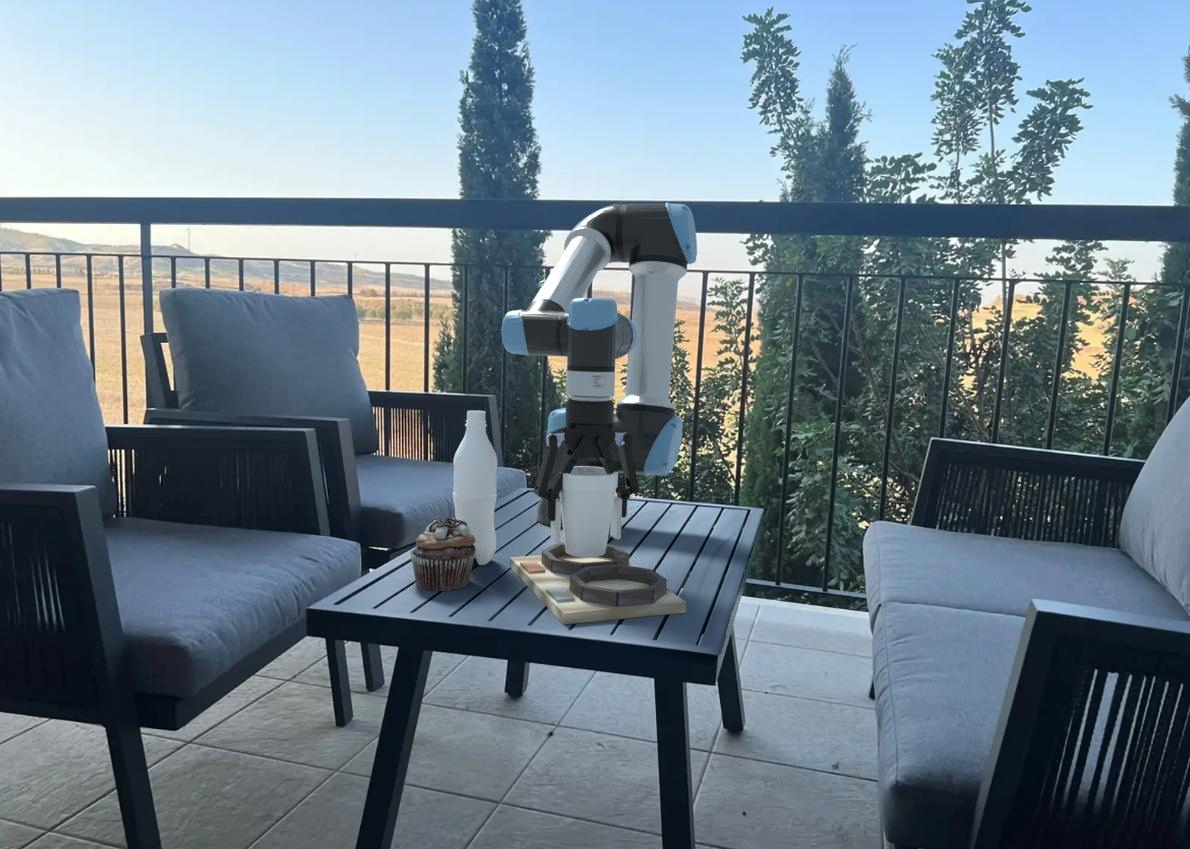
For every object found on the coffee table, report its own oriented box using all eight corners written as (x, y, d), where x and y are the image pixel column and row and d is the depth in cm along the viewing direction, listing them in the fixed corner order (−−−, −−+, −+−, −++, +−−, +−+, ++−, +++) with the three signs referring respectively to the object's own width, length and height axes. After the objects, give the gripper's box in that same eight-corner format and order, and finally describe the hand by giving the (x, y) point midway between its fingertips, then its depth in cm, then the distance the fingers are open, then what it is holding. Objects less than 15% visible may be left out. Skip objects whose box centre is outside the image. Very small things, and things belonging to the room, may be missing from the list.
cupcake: (450, 570, 136) (450, 508, 135) (487, 584, 129) (488, 519, 128) (397, 581, 129) (397, 516, 128) (434, 597, 122) (435, 529, 121)
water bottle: (488, 569, 137) (491, 414, 134) (446, 566, 138) (447, 412, 135) (500, 557, 144) (503, 410, 141) (460, 554, 145) (461, 408, 142)
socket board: (509, 566, 139) (510, 545, 138) (612, 559, 145) (613, 539, 145) (563, 624, 113) (564, 598, 112) (685, 612, 119) (686, 588, 119)
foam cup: (582, 541, 142) (584, 464, 141) (626, 551, 136) (629, 471, 135) (543, 551, 135) (545, 470, 133) (588, 563, 129) (591, 478, 127)
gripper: (528, 400, 125) (524, 549, 128) (664, 400, 133) (659, 540, 136) (515, 396, 132) (512, 537, 135) (645, 396, 140) (640, 529, 143)
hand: (585, 539), depth 135 cm, fingers closed on foam cup, 9 cm apart
